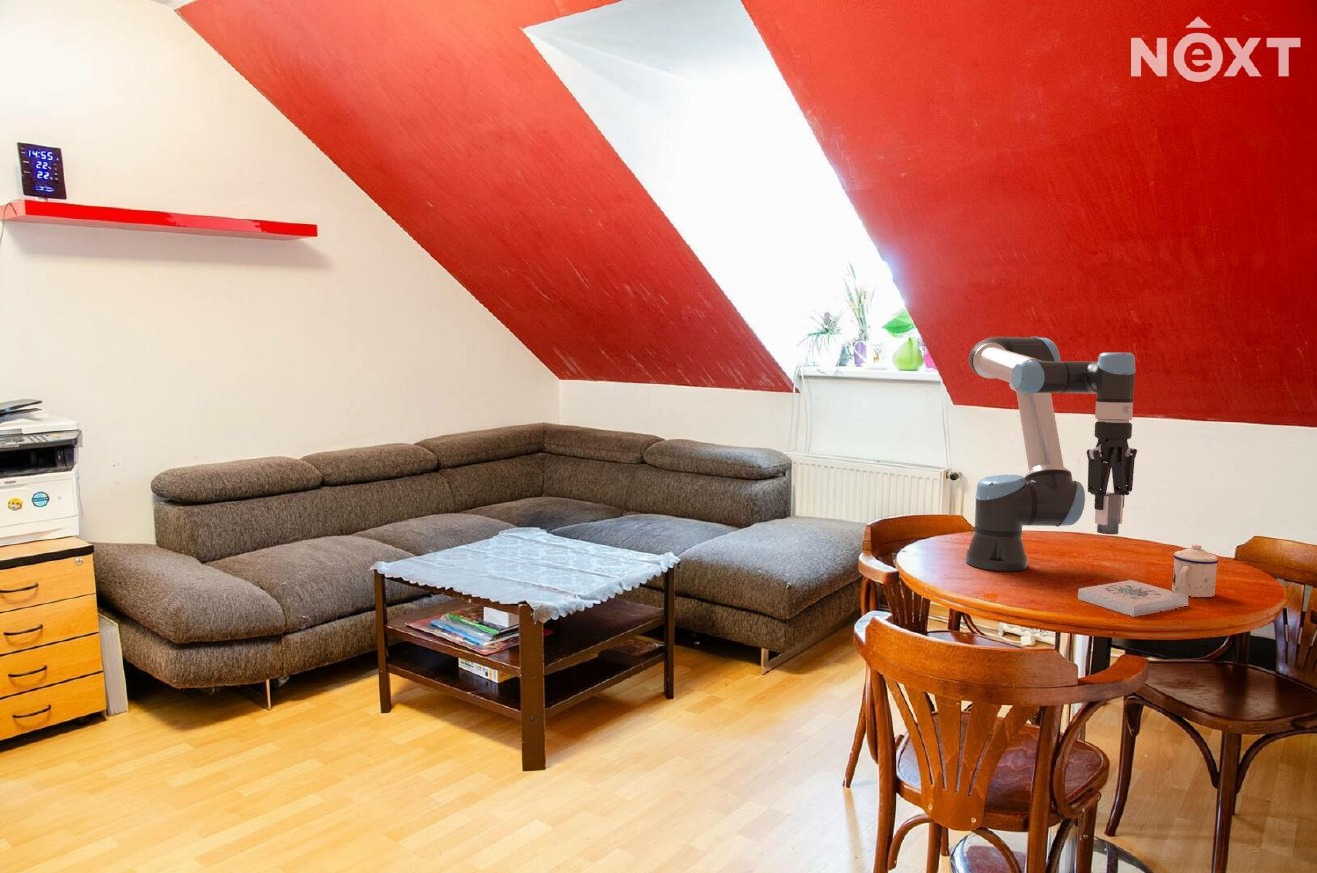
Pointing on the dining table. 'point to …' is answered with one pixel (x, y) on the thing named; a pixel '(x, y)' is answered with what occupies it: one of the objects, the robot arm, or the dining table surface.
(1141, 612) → the tile
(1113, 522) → the grey upright prism
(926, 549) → the dining table surface
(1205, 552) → the teacup with lid
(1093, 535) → the dining table surface
